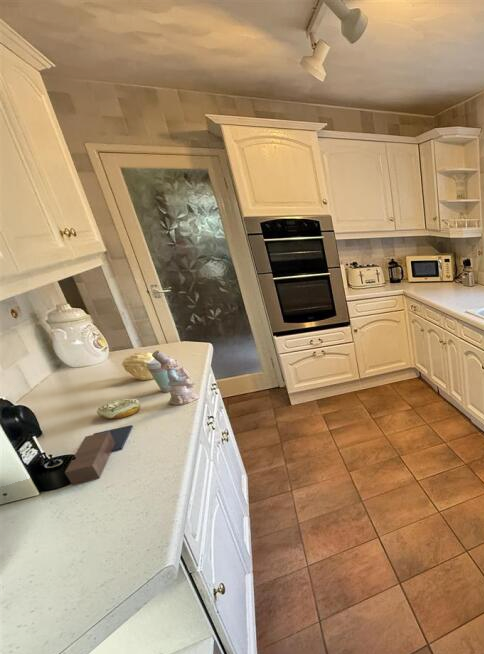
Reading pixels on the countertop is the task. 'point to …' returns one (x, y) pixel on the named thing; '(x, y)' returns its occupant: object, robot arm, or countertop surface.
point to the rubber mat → (119, 436)
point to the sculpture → (138, 365)
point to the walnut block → (90, 458)
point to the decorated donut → (119, 409)
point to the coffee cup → (159, 374)
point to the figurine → (176, 380)
